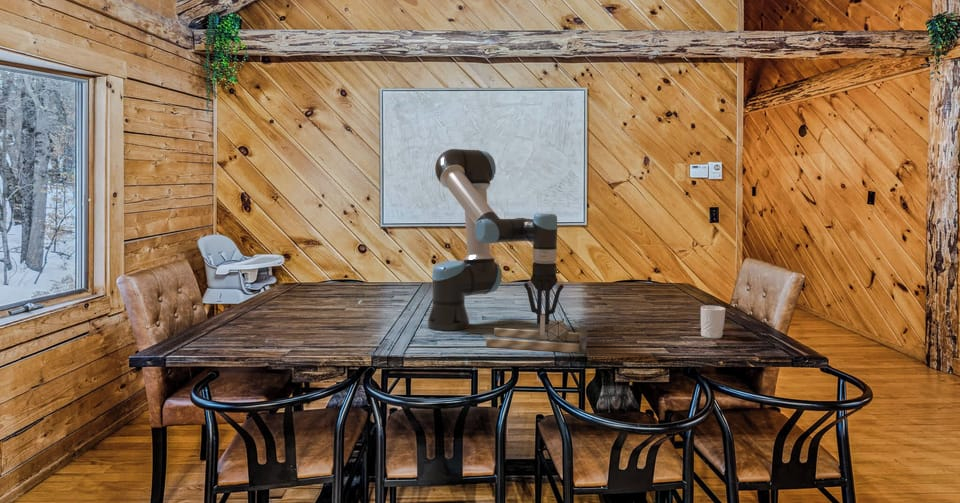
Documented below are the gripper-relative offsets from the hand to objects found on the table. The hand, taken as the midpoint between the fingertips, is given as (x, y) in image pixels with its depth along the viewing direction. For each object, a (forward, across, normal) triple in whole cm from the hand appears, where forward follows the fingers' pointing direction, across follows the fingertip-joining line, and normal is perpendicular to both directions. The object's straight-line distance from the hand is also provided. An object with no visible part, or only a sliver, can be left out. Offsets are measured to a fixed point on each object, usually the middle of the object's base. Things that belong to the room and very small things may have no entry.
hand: (542, 334), depth 181 cm
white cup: (+3, +56, +25) cm, 61 cm away
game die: (+4, +4, +2) cm, 6 cm away
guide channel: (+3, -2, 0) cm, 4 cm away
